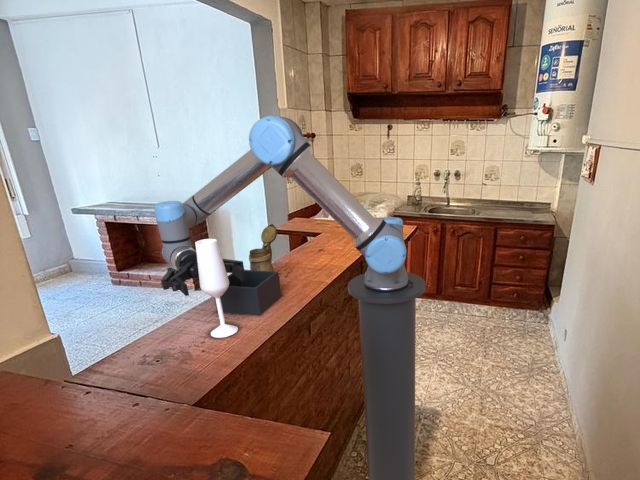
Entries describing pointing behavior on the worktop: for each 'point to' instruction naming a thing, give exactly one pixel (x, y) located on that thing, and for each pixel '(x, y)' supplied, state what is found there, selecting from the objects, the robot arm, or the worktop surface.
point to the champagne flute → (213, 280)
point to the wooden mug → (263, 251)
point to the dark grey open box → (251, 292)
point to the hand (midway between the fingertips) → (215, 282)
